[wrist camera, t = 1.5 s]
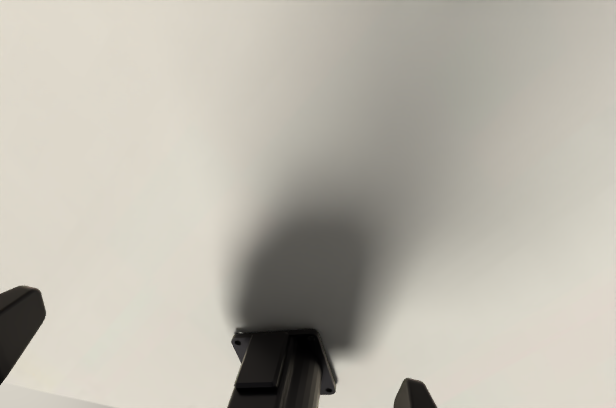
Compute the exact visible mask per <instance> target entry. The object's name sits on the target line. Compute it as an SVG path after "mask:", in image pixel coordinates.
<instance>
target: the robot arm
mask: <svg viewBox="0 0 616 408" xmlns="http://www.w3.org/2000/svg"><path fill="white" fill-rule="evenodd" d="M45 316H46V310H45V306H44V302H43V299H42V295H41V292H40V290H38V289H37V288H33V287H29V286H18V287H15V288H13V289H11V290H8V291H6V292H3V293H1V294H0V385H1V383H2V382H3V381H4V379H5V378H6V377H7V375H8V374H9V372H10V371H11V370H12V368H13V367H14V365H15V364H16V362H17V361H18V359H19V358H20V356H21V355H22V353H23V352H24V350H25V349H26V347H27V346H28V344H29V343H30V341H31V340H32V338H33V336H34V335H35V333H36V332H37V330H38V329H39V327H40V326H41V324H42V323H43V321H44V319H45ZM311 336H312V337H311ZM231 342H232V345H233V347H234V349H235V351H236V353H237V355H238V357H239V360H240V362H241V367H240V370H239V372H238V375H237V378H236V381H235V384H234V386H235V387H234V390H233V393H232V396H231V398H230V401H229V404H228V407H227V408H318V404H319V397H320V395H331V394H334V393H335V391H336V384H335V381H334V378H333V375H332V372H331V369H330V366H329V363H328V360H327V357H326V354H325V351H324V348H323V345H322V342H321V339H320V336H319V333H318V332H317V331H316V330H313V329H305V330H289V331H273V332H257V333H241V334H235V335H234V336H233V338H232V341H231ZM394 408H437V406H436V404H435V403H434V401H433V399H432V397H431V395H430V393H429V391H428V390H427V388H426V386H425V384H424V383H423V382H421V381H419V380H415V379H410V378H406V379H404V381H403V383H402V385H401V387H400V389H399V391H398V393H397V396H396V398H395V401H394Z"/></svg>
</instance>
